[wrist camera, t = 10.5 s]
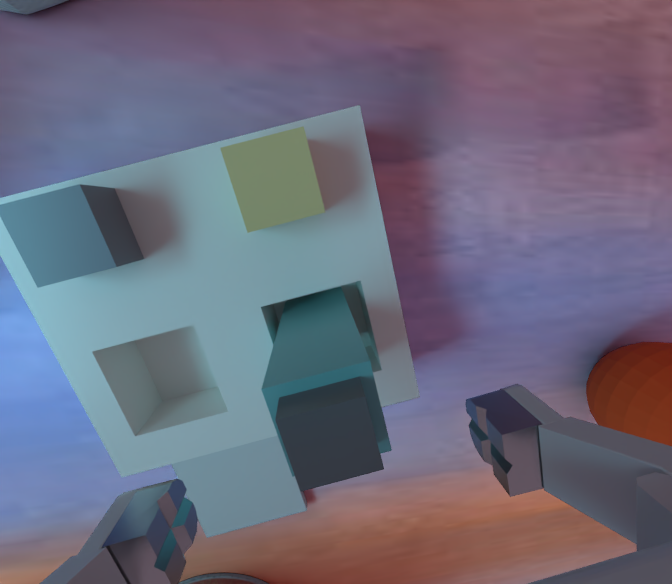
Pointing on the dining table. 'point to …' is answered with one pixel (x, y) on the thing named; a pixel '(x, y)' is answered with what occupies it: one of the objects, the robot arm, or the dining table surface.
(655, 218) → the dining table surface
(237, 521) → the mat
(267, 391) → the plug
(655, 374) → the clementine
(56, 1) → the paper towel roll
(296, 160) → the block
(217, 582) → the canned food
